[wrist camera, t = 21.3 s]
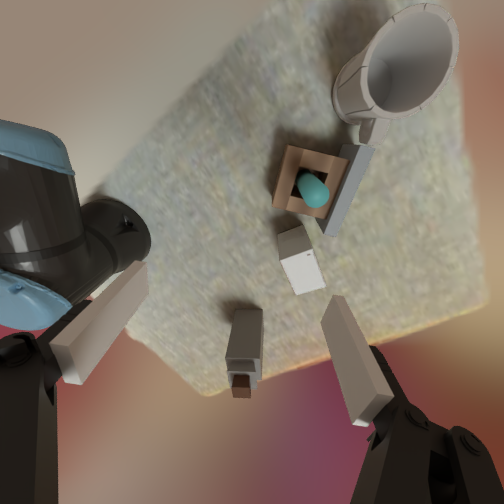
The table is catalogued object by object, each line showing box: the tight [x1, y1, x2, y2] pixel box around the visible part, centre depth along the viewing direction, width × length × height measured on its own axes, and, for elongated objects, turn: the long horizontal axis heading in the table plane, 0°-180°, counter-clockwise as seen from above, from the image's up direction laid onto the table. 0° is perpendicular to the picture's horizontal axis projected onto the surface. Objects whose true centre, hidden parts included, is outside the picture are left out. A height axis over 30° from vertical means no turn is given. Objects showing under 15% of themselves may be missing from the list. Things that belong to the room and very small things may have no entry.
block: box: [272, 144, 350, 220], centre depth 35 cm, size 9×9×6 cm
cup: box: [333, 3, 459, 146], centre depth 27 cm, size 10×9×12 cm
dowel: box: [295, 169, 329, 208], centre depth 31 cm, size 3×3×12 cm
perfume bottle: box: [225, 309, 264, 398], centre depth 47 cm, size 7×7×18 cm
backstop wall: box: [315, 144, 375, 237], centre depth 34 cm, size 2×13×8 cm, turn 167°
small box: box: [277, 225, 327, 295], centre depth 39 cm, size 8×6×10 cm
